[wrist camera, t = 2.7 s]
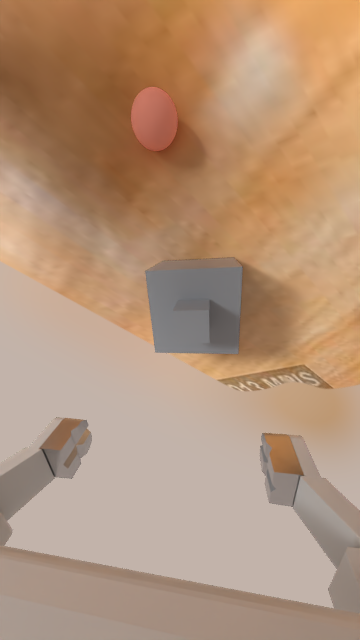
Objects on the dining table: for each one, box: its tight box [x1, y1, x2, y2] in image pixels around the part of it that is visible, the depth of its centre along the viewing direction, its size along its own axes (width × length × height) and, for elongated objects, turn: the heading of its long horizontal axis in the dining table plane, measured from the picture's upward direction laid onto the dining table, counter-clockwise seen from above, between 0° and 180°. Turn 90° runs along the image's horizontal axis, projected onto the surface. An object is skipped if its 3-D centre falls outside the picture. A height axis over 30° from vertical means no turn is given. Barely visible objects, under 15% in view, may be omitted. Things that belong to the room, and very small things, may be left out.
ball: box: [131, 87, 178, 151], centre depth 23 cm, size 5×5×5 cm
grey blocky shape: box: [145, 257, 243, 354], centre depth 26 cm, size 10×10×12 cm
